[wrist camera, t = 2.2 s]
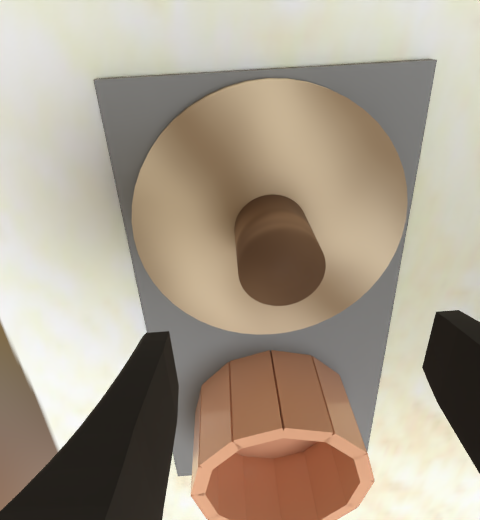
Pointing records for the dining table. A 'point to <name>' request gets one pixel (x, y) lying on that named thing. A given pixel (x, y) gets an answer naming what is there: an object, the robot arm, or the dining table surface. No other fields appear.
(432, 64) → the mat
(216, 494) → the bowl
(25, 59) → the dining table surface
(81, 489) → the robot arm
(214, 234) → the lid
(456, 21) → the dining table surface
